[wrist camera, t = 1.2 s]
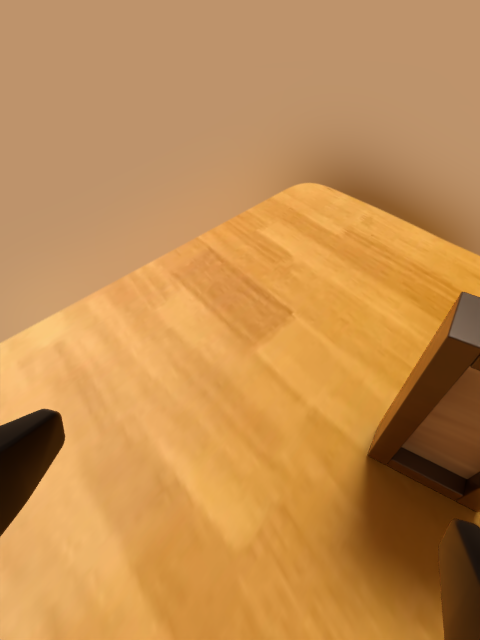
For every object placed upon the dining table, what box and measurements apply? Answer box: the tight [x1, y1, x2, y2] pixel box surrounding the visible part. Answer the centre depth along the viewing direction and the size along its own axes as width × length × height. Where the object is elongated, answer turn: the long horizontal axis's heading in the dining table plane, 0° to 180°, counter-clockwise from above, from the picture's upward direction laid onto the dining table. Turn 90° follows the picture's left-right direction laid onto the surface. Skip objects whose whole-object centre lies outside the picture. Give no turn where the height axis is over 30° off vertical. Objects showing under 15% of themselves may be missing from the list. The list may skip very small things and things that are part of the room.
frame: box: [367, 292, 480, 512], centre depth 18 cm, size 2×6×13 cm, turn 59°
